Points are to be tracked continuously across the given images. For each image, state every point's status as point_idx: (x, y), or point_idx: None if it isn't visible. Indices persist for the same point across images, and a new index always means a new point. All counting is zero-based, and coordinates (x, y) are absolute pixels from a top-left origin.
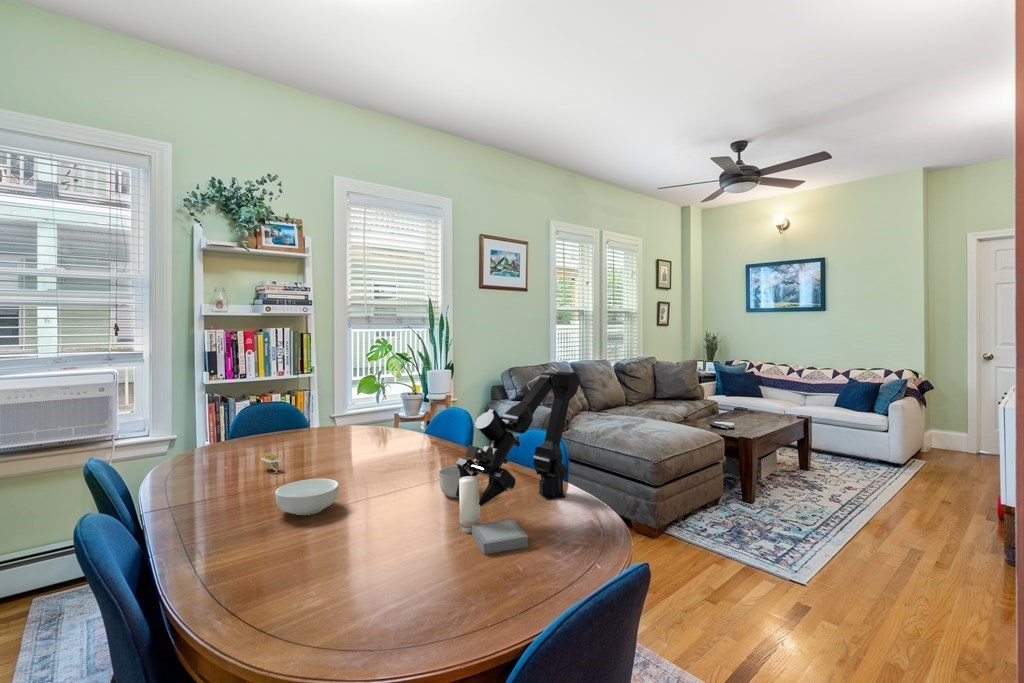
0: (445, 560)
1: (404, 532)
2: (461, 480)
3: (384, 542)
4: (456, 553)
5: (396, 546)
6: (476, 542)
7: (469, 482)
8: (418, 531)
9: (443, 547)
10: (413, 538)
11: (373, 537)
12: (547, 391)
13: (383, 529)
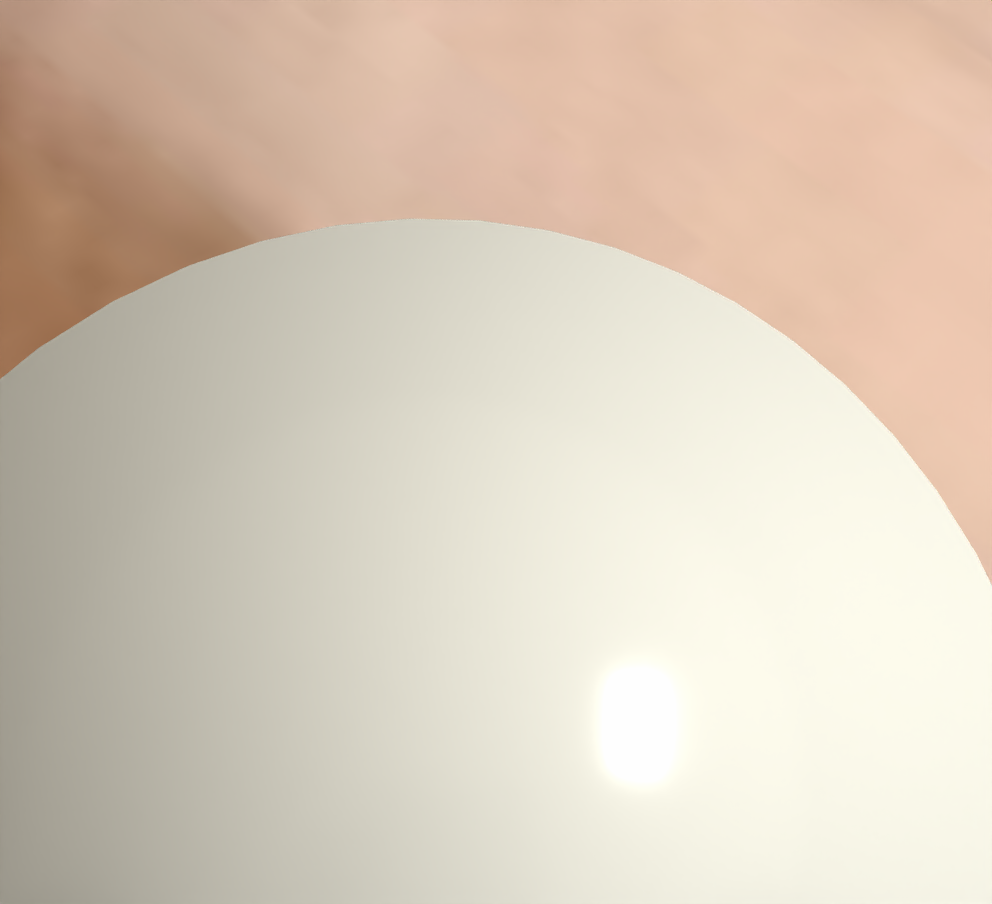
0: (40, 22)
1: (800, 205)
2: (655, 352)
3: (743, 6)
4: (43, 165)
5: (613, 4)
6: None
7: (22, 373)
8: (732, 288)
9: (260, 186)
10: (638, 167)
11: (879, 23)
12: None
13: (965, 151)
